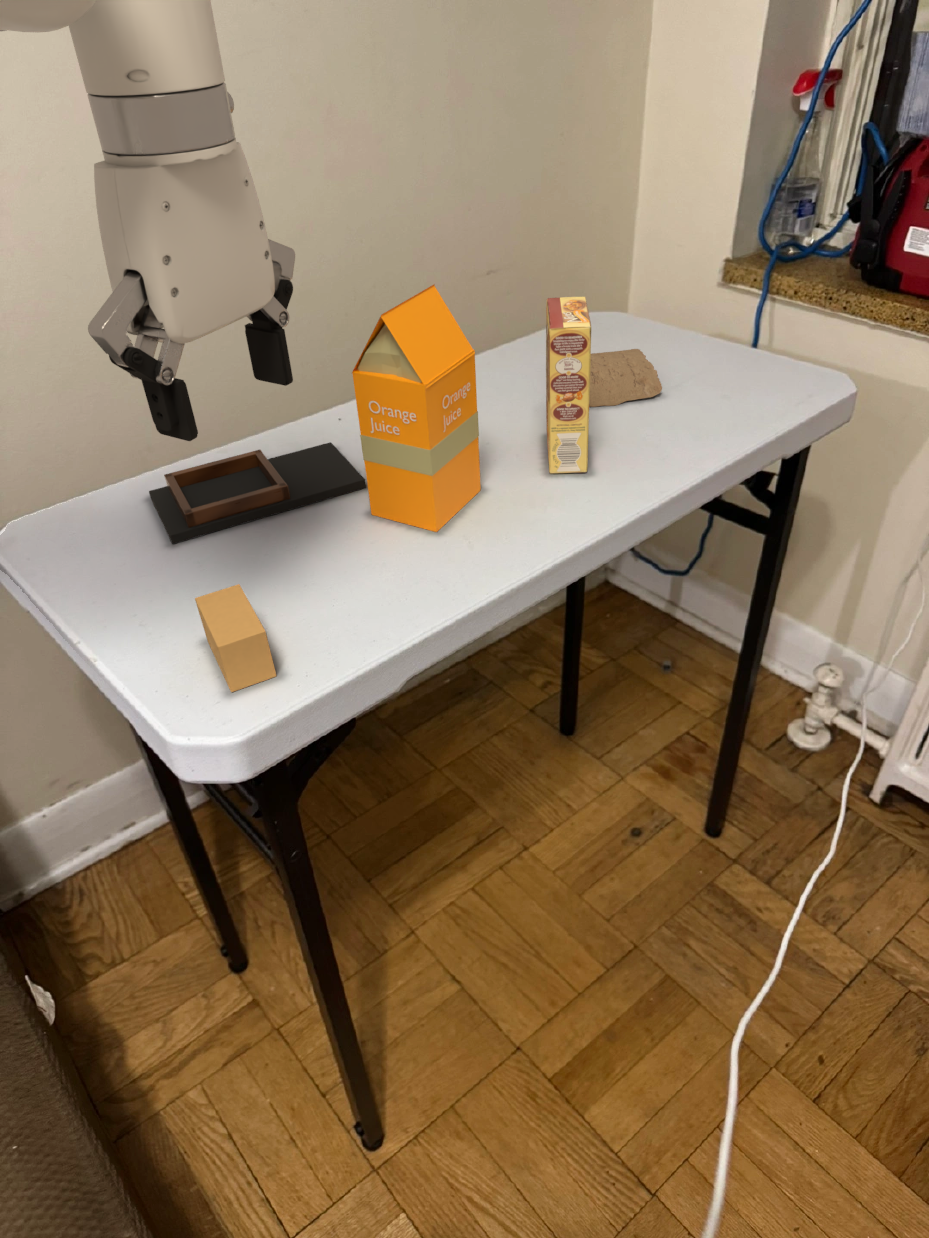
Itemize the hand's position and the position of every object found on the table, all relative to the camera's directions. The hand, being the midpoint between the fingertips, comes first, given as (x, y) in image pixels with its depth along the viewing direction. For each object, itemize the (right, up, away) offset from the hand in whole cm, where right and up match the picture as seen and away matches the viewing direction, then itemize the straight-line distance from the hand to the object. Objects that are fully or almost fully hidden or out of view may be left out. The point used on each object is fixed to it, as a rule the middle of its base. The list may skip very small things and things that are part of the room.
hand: (228, 407), depth 60 cm
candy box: (+27, +3, +33) cm, 43 cm away
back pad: (-5, -2, +29) cm, 30 cm away
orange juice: (+13, -3, +26) cm, 29 cm away
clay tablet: (+34, +15, +48) cm, 61 cm away
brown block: (-1, -18, +9) cm, 20 cm away
